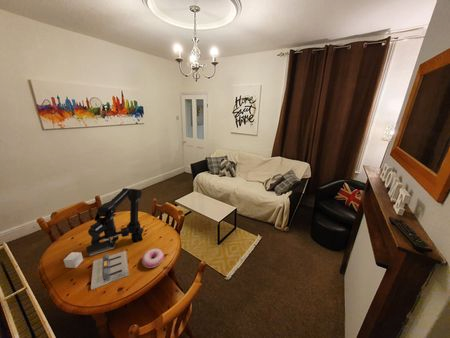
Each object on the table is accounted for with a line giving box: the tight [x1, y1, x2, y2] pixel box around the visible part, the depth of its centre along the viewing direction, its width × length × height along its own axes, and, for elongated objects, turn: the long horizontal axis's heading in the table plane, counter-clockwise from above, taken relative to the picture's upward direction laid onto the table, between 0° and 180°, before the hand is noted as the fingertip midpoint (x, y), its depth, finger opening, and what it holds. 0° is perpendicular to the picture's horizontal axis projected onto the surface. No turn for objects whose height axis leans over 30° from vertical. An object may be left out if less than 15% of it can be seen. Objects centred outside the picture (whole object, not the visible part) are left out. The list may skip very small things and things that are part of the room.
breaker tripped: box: [102, 261, 109, 270], centre depth 106 cm, size 3×4×4 cm
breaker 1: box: [102, 253, 110, 262], centre depth 111 cm, size 3×4×4 cm
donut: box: [141, 248, 165, 269], centre depth 115 cm, size 14×13×5 cm
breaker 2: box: [102, 268, 109, 280], centre depth 102 cm, size 3×4×4 cm
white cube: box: [63, 251, 84, 269], centre depth 110 cm, size 6×6×6 cm
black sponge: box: [85, 238, 117, 257], centre depth 122 cm, size 16×8×4 cm, turn 121°
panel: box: [90, 250, 130, 291], centre depth 108 cm, size 18×20×2 cm
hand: (113, 247), depth 109 cm, fingers closed
